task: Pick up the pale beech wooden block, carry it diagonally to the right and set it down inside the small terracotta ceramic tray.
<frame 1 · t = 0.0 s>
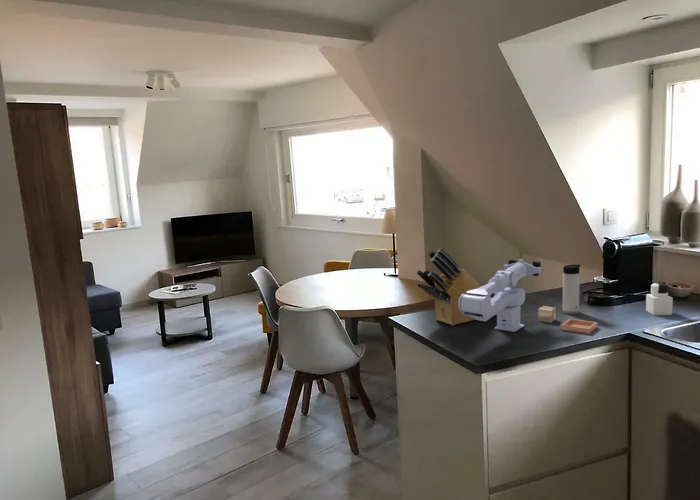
hand: (530, 263, 220), 22 cm above the worktop, tool horizontal, fingers open, 7 cm apart
terracotta tray: (579, 328, 203), on the worktop
knife block: (459, 320, 222), on the worktop
beech block: (546, 320, 216), on the worktop
travel mug: (571, 312, 225), on the worktop
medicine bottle: (658, 313, 218), on the worktop
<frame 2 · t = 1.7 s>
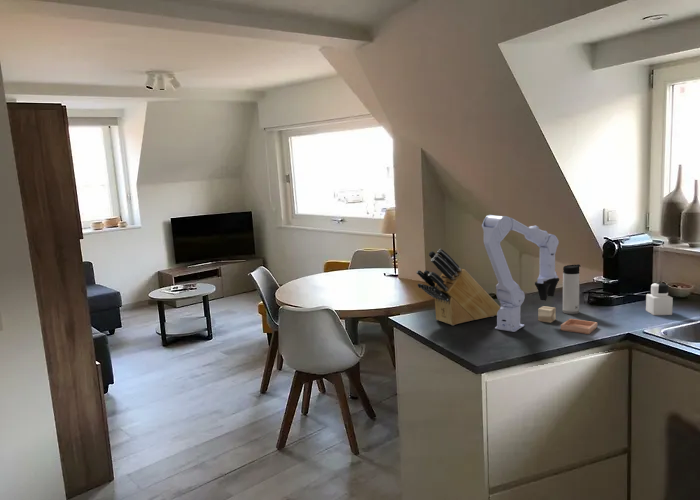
hand: (547, 298, 215), 9 cm above the worktop, tool pointing down, fingers open, 7 cm apart
nothing on the worktop moved.
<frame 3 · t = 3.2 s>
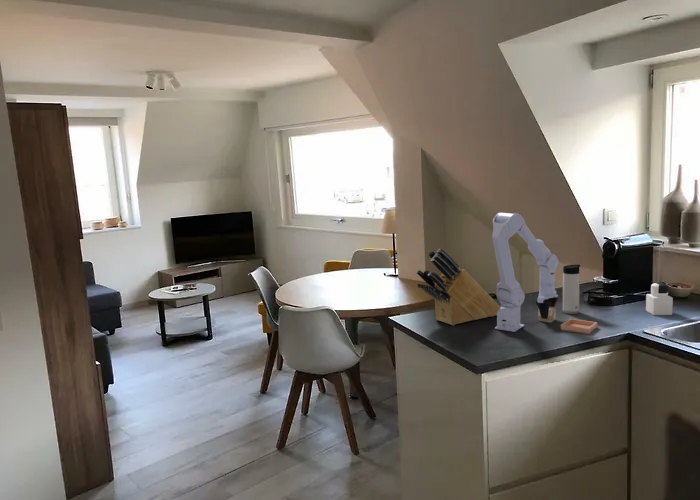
hand: (546, 316, 216), 1 cm above the worktop, tool pointing down, fingers closed on beech block, 5 cm apart
beech block: (546, 320, 216), on the worktop, touching gripper
everything else where it was.
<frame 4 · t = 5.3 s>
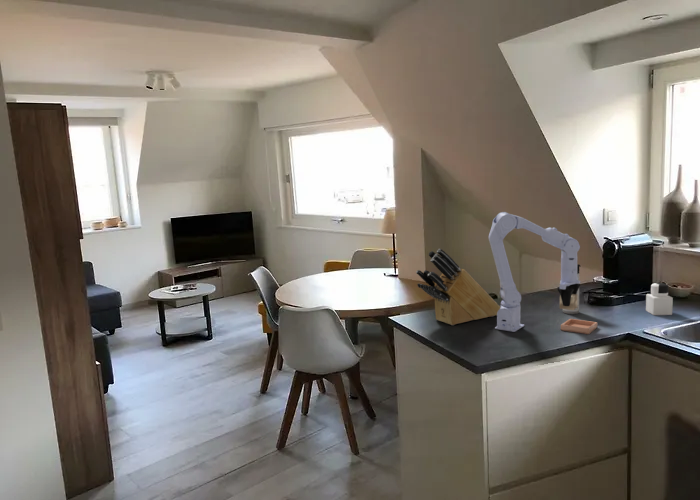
hand: (568, 304, 206), 8 cm above the worktop, tool pointing down, fingers closed on beech block, 5 cm apart
beech block: (568, 307, 206), point 7 cm above the worktop, touching gripper
everything else where it was.
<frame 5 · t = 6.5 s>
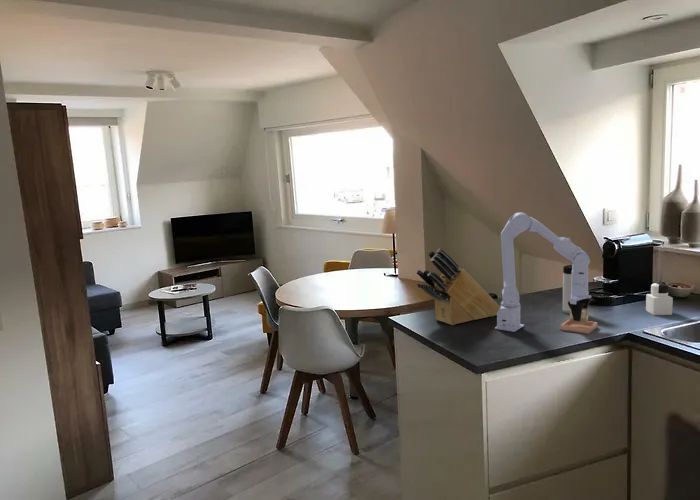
hand: (579, 318, 202), 4 cm above the worktop, tool pointing down, fingers closed on beech block, 5 cm apart
beech block: (578, 322, 203), point 2 cm above the worktop, touching gripper
everything else where it was.
when the fingers open (3 cm above the worktop, at t = 7.5 s): beech block drops 1 cm, resting on terracotta tray.
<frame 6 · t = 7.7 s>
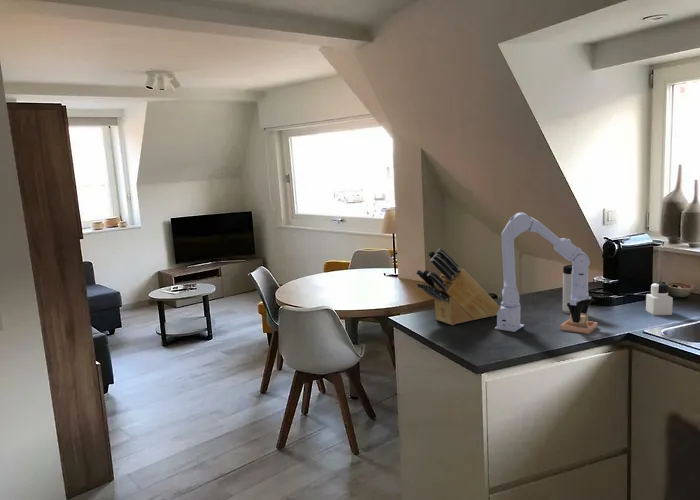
hand: (579, 319, 203), 3 cm above the worktop, tool pointing down, fingers open, 6 cm apart
beech block: (578, 327, 203), resting on terracotta tray
everything else where it was.
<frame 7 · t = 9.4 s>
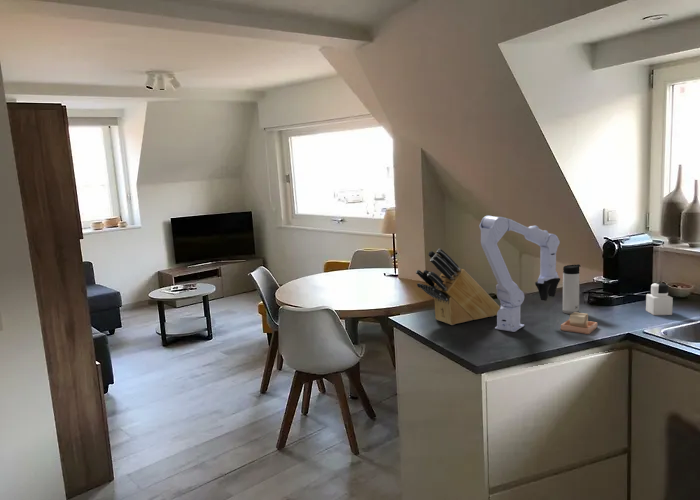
hand: (547, 298, 213), 9 cm above the worktop, tool pointing down, fingers open, 7 cm apart
nothing on the worktop moved.
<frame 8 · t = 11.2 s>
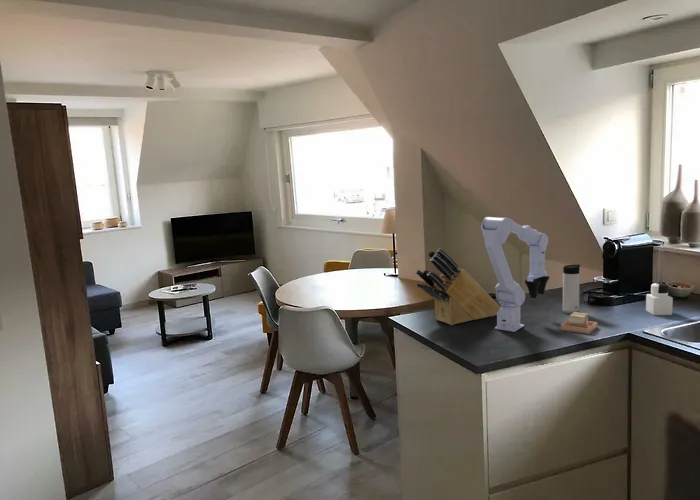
hand: (537, 295, 217), 9 cm above the worktop, tool pointing down, fingers open, 7 cm apart
nothing on the worktop moved.
at the end: beech block 0.1 cm off-centre on the terracotta tray, point 0.5 cm above the terracotta tray's base; beech block tilted 0°; the gripper is holding nothing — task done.
